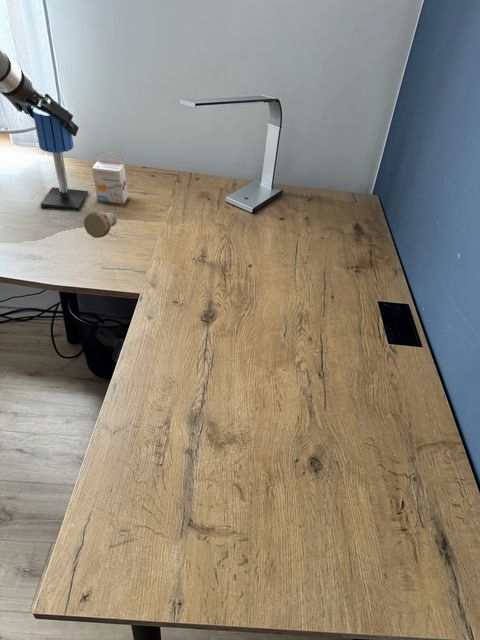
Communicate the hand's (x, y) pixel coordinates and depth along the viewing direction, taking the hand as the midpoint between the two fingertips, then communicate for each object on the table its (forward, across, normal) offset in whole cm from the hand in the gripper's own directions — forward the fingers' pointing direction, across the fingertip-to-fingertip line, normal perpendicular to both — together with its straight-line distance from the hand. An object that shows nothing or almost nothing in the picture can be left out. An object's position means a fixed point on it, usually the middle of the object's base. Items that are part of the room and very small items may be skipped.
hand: (61, 127), depth 143 cm
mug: (+7, +19, -24) cm, 31 cm away
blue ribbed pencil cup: (+1, 0, -5) cm, 5 cm away
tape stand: (+13, 0, -17) cm, 22 cm away
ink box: (+18, +12, -12) cm, 25 cm away
